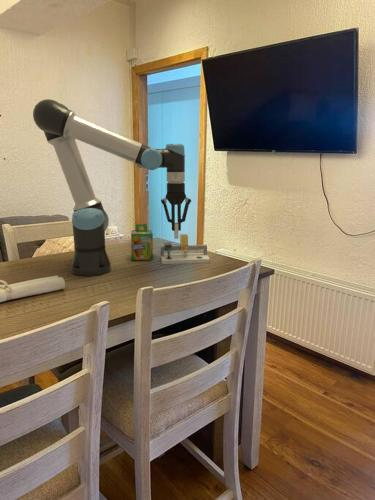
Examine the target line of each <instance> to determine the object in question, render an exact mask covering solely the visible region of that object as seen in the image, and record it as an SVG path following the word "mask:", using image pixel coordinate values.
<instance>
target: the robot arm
mask: <svg viewBox="0 0 375 500" xmlns="http://www.w3.org/2000/svg"><path fill="white" fill-rule="evenodd" d="M32 118H33V122H34V123H35V125H36V126H37V127H38V129H39V130H41V131H43V133H44V136H45V139H46V141H47V143H48V144H50V145H52V146H53V148H54V152H55V153H56V158H57V159H58V162H59V164H60V167H61V170H62V172H63V175H64V178H65V181H66V183H67V186H68V189H69V191H70V194H71V196H72V200H73V202H74V206H73V209H72V210H73V213H72V216H71V223H72V233H73V234H72V235H73V246H74V253H73V258H72V260H71V261H72V262H71V265H70V272H71V273H72V274H73V275H76V276H81V277H92V276H99V275H103V274H106V273H109V272H110V271H111V270H112V263H111V260H110V259H109V255H108V253H107V249H106V231H107V229H108V227H109V223H110V222H109V215H108V213H107V212H106V211H105V210H104V206H103V204H102V201H101V200H100V199H99V198H97V197H96V194H95V192H94V190H93V186H92V184H91V181H90V178H89V176H88V173H87V170H86V166H85V165H84V164H85V163H84V161H83V159H82V156H81V153H80V150H79V148H78V145H77V141H80V142H83V143H85V144H87V145H90V146H92V147H95V148H97V149H100V150H102V151H104V152H107V153H109V154H111V155H114V156H117V157H119V158H121V159H125V160H127V161H129V162H132V163H133V164H135V165H136V166H137V168H139V169H147V170H148V171H149V170H150V171H155V170H158V169H159V168H163V169H165V168H166V182H167V183H166V194H165V197H164V198H161V199H160V202H161V204H162V205H163V209H164V213H165V216H166V220H167V222H168V223H171V230H172V232H173V235H174V236H173V237H174V239H175V240H178V239H179V232H180V231H181V230H182V223H183V222H186V219H187V218H186V217H187V214H188V209H189V205H190V204H191V202H192V199H191V198H189V197H187V195H186V183H185V181H186V178H185V175H186V174H185V173H186V171H185V169H186V167H185V166H186V165H185V162H186V159H185V158H186V154H185V145H184V144H183V143H167V144H165V148H153V147H150V146H148V145H146V144H144V143H141V142H138V141H136V140H134V139H131V138H129V137H127V136H125V135H123V134H120V133H118V132H116V131H113V130H110V129H109V128H107V127H103V126H101V125H99V124H98V123H97V124H96V123H93V122H92V121H89V120H87V119H85V118H82V117H80V116H78V115H76V114H75V111H73V110H70V109H69V108H68V107H67V106H66V105H64V104H62V103H60V102H58V101H56V100H53V99H42V100H41V101H39V102H37V103H36V105H35V106H34V108H33V111H32ZM76 140H77V141H76ZM167 202H169V204H170V206H171V208H170V209H171V213H169V210H168V205H167V204H168V203H167ZM184 202H185V203H184ZM183 203H184V208H183V212H182V204H183ZM175 206H177V212H175V211H176V210H175V209H176V207H175ZM176 213H177V215H176ZM170 214H171V217H170ZM175 216H177V222H176V217H175Z"/></svg>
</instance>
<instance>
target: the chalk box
mask: <svg viewBox="0 0 375 500" xmlns="http://www.w3.org/2000/svg"><path fill="white" fill-rule="evenodd" d="M140 227H143V229H140ZM130 232H131V236H130V238H131V239H130V244H131V246H130V247H131V261H152V260H154V259H153V257H154V256H153V255H154V253H153V248H154V247H153V244H154V243H153V241H154V240H153V239H154V236H153V235H154V234H153V231H152V229H151V230H150V229H148V225H147V223H137V224H136V225H135V229H134V230H131V231H130Z"/></svg>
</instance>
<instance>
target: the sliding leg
mask: <svg viewBox="0 0 375 500" xmlns="http://www.w3.org/2000/svg"><path fill="white" fill-rule="evenodd" d="M188 245H189V235H188V234H187V233H185V234H184V233H183V234H182V233H181V234H179V246H181V250H180V251H183V254H184V257H186V254H188V251H189V250H188Z"/></svg>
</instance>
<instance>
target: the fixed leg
mask: <svg viewBox="0 0 375 500" xmlns="http://www.w3.org/2000/svg"><path fill="white" fill-rule="evenodd" d="M163 246H164V247H165V251H164V252H167V254H168V259H170V254H171V252H172V251H173V250H172V246H173V245H172V242H163Z"/></svg>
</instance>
